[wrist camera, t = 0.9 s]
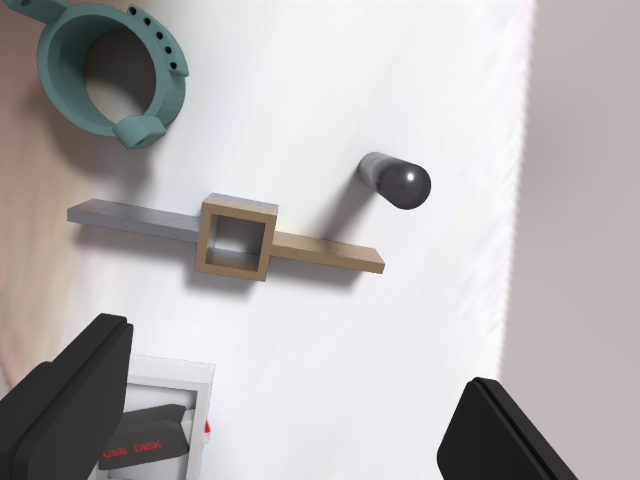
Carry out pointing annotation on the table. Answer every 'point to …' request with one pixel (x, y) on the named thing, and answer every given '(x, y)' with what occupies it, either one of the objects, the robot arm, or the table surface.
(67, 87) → the teal round tub
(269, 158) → the table surface
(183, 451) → the usb flash stick
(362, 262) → the hinge
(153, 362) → the parts tray frame
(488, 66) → the table surface
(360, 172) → the hinge pin
